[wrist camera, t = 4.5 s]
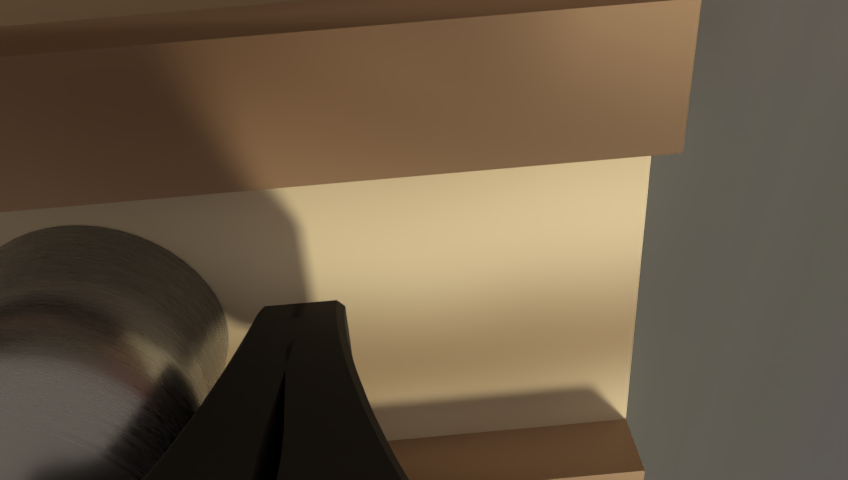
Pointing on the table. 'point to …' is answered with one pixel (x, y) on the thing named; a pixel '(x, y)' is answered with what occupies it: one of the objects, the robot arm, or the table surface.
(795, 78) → the table surface
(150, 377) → the puck
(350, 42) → the slot board
